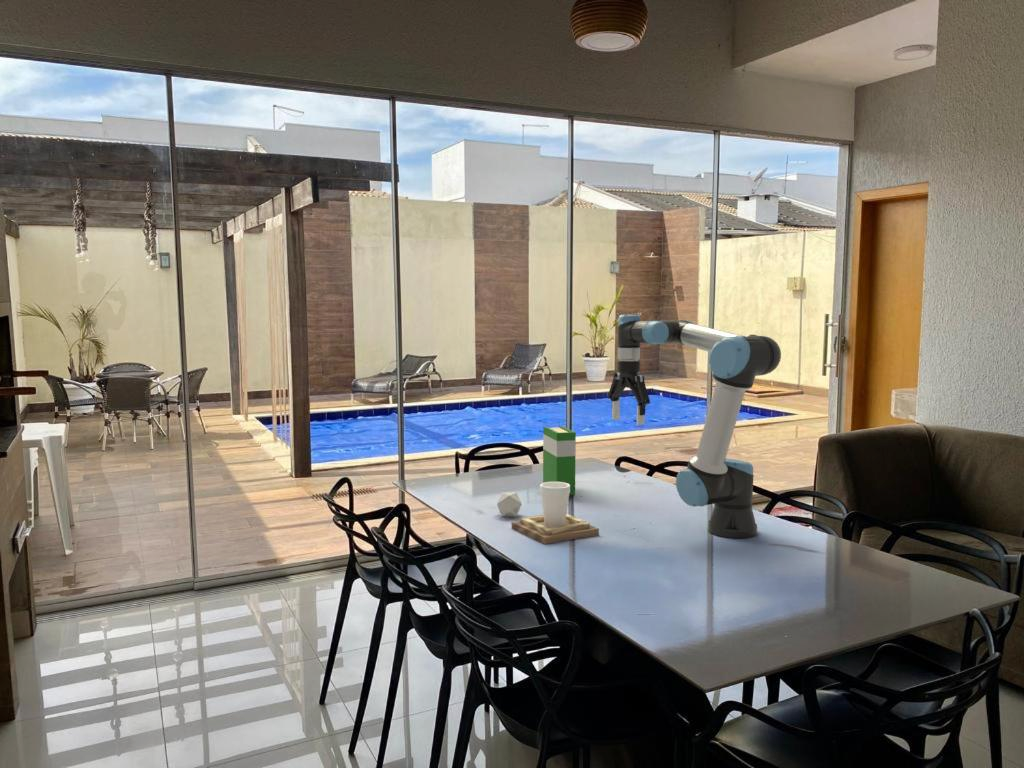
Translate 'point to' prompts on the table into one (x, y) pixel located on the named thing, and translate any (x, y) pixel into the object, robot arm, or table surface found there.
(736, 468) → the robot arm
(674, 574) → the table surface
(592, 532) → the base board
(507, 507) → the die
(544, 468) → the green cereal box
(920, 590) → the table surface
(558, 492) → the foam cup
